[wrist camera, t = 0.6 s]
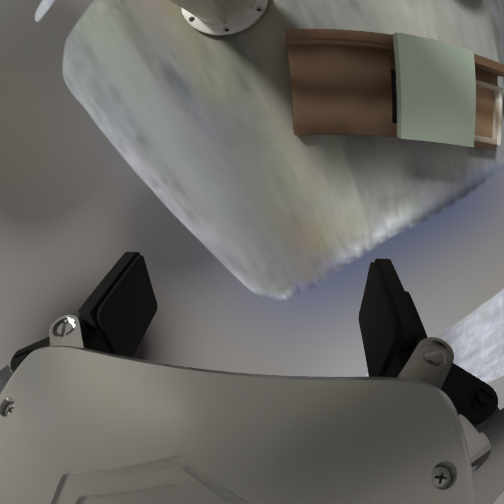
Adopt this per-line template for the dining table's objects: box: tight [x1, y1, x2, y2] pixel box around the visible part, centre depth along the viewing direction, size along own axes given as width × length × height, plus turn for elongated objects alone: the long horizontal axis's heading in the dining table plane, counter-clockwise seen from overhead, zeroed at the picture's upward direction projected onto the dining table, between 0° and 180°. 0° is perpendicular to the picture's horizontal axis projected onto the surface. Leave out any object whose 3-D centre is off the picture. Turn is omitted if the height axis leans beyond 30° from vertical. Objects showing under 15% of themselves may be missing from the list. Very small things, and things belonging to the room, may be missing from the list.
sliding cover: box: [393, 33, 476, 148], centre depth 25 cm, size 13×11×2 cm
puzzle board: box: [286, 29, 504, 150], centre depth 30 cm, size 14×34×8 cm, turn 96°
